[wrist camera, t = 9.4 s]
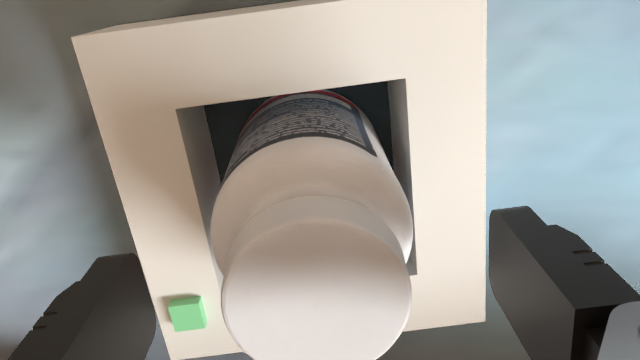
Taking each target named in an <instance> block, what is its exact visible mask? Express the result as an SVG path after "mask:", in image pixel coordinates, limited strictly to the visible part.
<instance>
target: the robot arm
mask: <svg viewBox="0 0 640 360" xmlns="http://www.w3.org/2000/svg"><path fill="white" fill-rule="evenodd" d="M489 277H490V283H491V287H492V290H493V293H494V296H495V298H496V300H497V301H498V303H499V305H500V307H501V308H502V310H503V312H504V313H505V315H506V317H507V319H508V320H509V322H510V324H511V326H512V327H513V329H514V331H515V332H516V334H517V336H518V338H519V339H520V341H521V343H522V345H523V346H524V348H525V350H526V351H527V353H528V355H529V357H530V358H531V360H640V295H639V294H638V293H637V292H636V291H635V290H634V289H633V288H632V287H631V286H630V285H629V284H628V283H627V282H626V281H625V280H624V279H622V278H621V277H620V276H619V275H618V274H617V273H616V272H615V271H614V270H613V269H612V268H611V267H610V266H609V265H608V264H605V263H604V260H603V259H602V258H601V257H600V256H599V255H598V254H597V253H596V252H592V249H591V248H590V247H589V246H588V245H587V244H586V243H585V242H584V241H583V240H582V239H581V238H580V237H579V236H578V235H576V234H574V233H572V232H570V231H568V230H566V229H564V228H562V227H560V226H558V225H549V226H547V225H546V224H545V223H544V222H543V221H542V220H541V219H540V218H539V217H538V215H537V214H536V213H535V212H534V211H533V210H532V209H531V208H530V207H528V206H521V207H513V208H505V209H497V210H492V212H491V214H490V220H489ZM43 314H44V316H43V317H40V318H39V320H38V321H37V322H36V324H35V325H34V326H33V330H32V331H29V333H28V334H27V335H26V337H25V338H24V339H23V340H22V342H21V343H20V344H19V346H18V347H17V348H16V349H15V351H14V352H13V353H12V355H11V356H10V357H9V359H8V360H144V359H145V357H146V354H147V352H148V350H149V347H150V345H151V343H152V340H153V338H154V334H155V329H156V315H155V310H154V306H153V303H152V300H151V296H150V293H149V290H148V287H147V283H146V280H145V277H144V274H143V271H142V267H141V264H140V261H139V259H138V257H137V256H136V255H135V254H133V253H129V254H121V255H112V256H104V257H99V258H97V259H96V260H95V262H94V263H93V264H92V266H91V267H90V268H89V270H88V271H87V273H86V274H85V275H84V277H83V278H82V279H81V281H78V282H75V283H74V284H72V285H71V286H70V287H69V288H67V289H66V290H65V291H63V292H62V293H61V294H59V295H58V296H57V297H56V298H55V299H54V300H53V302H52V303H51V304H50V306H49V307H48V308H47V309H46V311H45V312H44V313H43Z"/></svg>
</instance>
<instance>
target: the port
mask: <svg viewBox="0 0 640 360" xmlns="http://www.w3.org/2000/svg"><path fill="white" fill-rule="evenodd" d="M486 29H487V0H298V1H290V2H283V3H276V4H268V5H261V6H254V7H246V8H239V9H232V10H224V11H217V12H210V13H202V14H195V15H187V16H180V17H173V18H165V19H158V20H151V21H143V22H136V23H129V24H121V25H115V26H111V27H108V28H104V29H100V30H96V31H93V32H89V33H85V34H81V35H78V36H74V37H71V40H72V43H73V46H74V50H75V53H76V56H77V59H78V62H79V66H80V69H81V72H82V75H83V79H84V82H85V85H86V88H87V91H88V95H89V98H90V101H91V104H92V108H93V111H94V114H95V117H96V120H97V124H98V127H99V130H100V133H101V137H102V140H103V143H104V146H105V149H106V153H107V156H108V159H109V162H110V165H111V169H112V172H113V175H114V178H115V182H116V185H117V188H118V191H119V194H120V198H121V201H122V204H123V207H124V211H125V214H126V217H127V220H128V223H129V227H130V230H131V233H132V236H133V240H134V243H135V246H136V249H137V252H138V256H139V259H140V262H141V265H142V269H143V272H144V275H145V278H146V281H147V285H148V288H149V291H150V294H151V298H152V301H153V304H154V307H155V310H156V314H157V317H158V320H159V323H160V327H161V330H162V333H163V336H164V339H165V343H166V346H167V349H168V352H169V355H170V359H171V360H182V359H190V358H198V357H206V356H214V355H222V354H230V353H238V352H244V351H243V350H242V349H240V347H239V346H238V345H237V343H236V342H235V341H234V339H233V338H232V336H231V335H230V333H229V331H228V329H227V327H226V324H225V322H224V319H223V315H222V310H221V288H222V282H223V275H222V273H221V271H220V270H219V268H218V265H217V263H216V260H215V257H214V254H213V250H212V244H211V232H210V228H211V218H212V213H213V208H214V204H215V201H216V198H217V195H218V192H219V189H220V186H221V181H220V176H219V172H218V167H217V163H216V158H215V154H214V149H213V145H212V140H211V136H210V131H209V127H208V122H207V118H206V113H205V109H204V105H209V104H216V103H224V102H231V101H239V100H246V99H254V98H261V97H269V96H276V95H284V94H291V93H299V92H306V91H314V90H321V89H329V88H336V87H344V86H352V85H359V84H367V83H374V82H382V81H387V82H388V96H389V109H390V123H391V136H392V150H393V164H394V174H395V176H396V178H397V180H398V181H399V183H400V185H401V187H402V189H403V191H404V194H405V196H406V198H407V200H408V203H409V207H410V210H411V215H412V222H413V239H412V246H411V251H410V255H409V258H408V260H407V263H406V266H407V270H408V273H409V277H410V281H411V287H412V303H411V311H410V314H409V318H408V320H407V323H406V325H405V327H404V329H403V331H402V332H405V331H413V330H421V329H429V328H437V327H445V326H453V325H461V324H469V323H476V322H484V321H485V288H486Z"/></svg>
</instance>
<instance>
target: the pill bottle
mask: <svg viewBox="0 0 640 360" xmlns="http://www.w3.org/2000/svg"><path fill="white" fill-rule="evenodd" d="M210 232H211V244H212V250H213V254H214V257H215V260H216V263H217V265H218V268H219V270H220V271H221V273H222V275H223V282H222V288H221V310H222V315H223V319H224V322H225V324H226V327H227V329H228V331H229V333H230V335H231V336H232V338H233V339H234V341H235V342H236V343H237V345H238V346H239V347H240V349H242V350H243V351H244V353H246V354H247V355H249V356H250V357H251V358H252V359H254V360H376V359H377V358H379V357H380V356H382V355H383V354H384V353H385V352H386V351H387V350H388V349H389V348H390V347H391V346H392V345H393V344H394V343H395V341H396V340H397V339H398V337H399V336H400V335H401V333H402V331H403V329H404V327H405V325H406V323H407V320H408V318H409V314H410V311H411V303H412V287H411V281H410V277H409V273H408V270H407V266H406V263H407V260H408V258H409V255H410V251H411V246H412V239H413V222H412V215H411V210H410V207H409V203H408V200H407V198H406V196H405V194H404V191H403V189H402V187H401V185H400V183H399V181H398V180H397V178H396V176H395V174H394V172H393V170H392V168H391V166H390V163H389V161H388V159H387V157H386V154H385V152H384V150H383V147H382V145H381V143H380V140H379V138H378V136H377V134H376V132H375V130H374V128H373V126H372V124H371V122H370V121H369V119H368V118H367V116H366V115H365V114H364V113H363V112H362V111H361V110H360V109H359V108H358V107H357V106H356V105H355V104H354V103H353V102H351V101H350V100H348V99H347V98H345V97H343V96H341V95H339V94H337V93H335V92H332V91H329V90H325V89H321V90H314V91H306V92H299V93H291V94H284V95H276V96H273V97H271V98H270V99H268V100H266V101H265V102H264V103H262V104H261V105H260V106H259V107H258V108H256V109H255V111H254V112H253V113H252V114H251V115H250V117H249V118H248V119H247V121H246V122H245V124H244V126H243V128H242V130H241V132H240V134H239V137H238V139H237V142H236V145H235V148H234V151H233V153H232V156H231V159H230V162H229V164H228V167H227V170H226V173H225V175H224V178H223V181H222V184H221V186H220V189H219V192H218V195H217V198H216V201H215V204H214V208H213V213H212V218H211V228H210Z"/></svg>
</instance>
